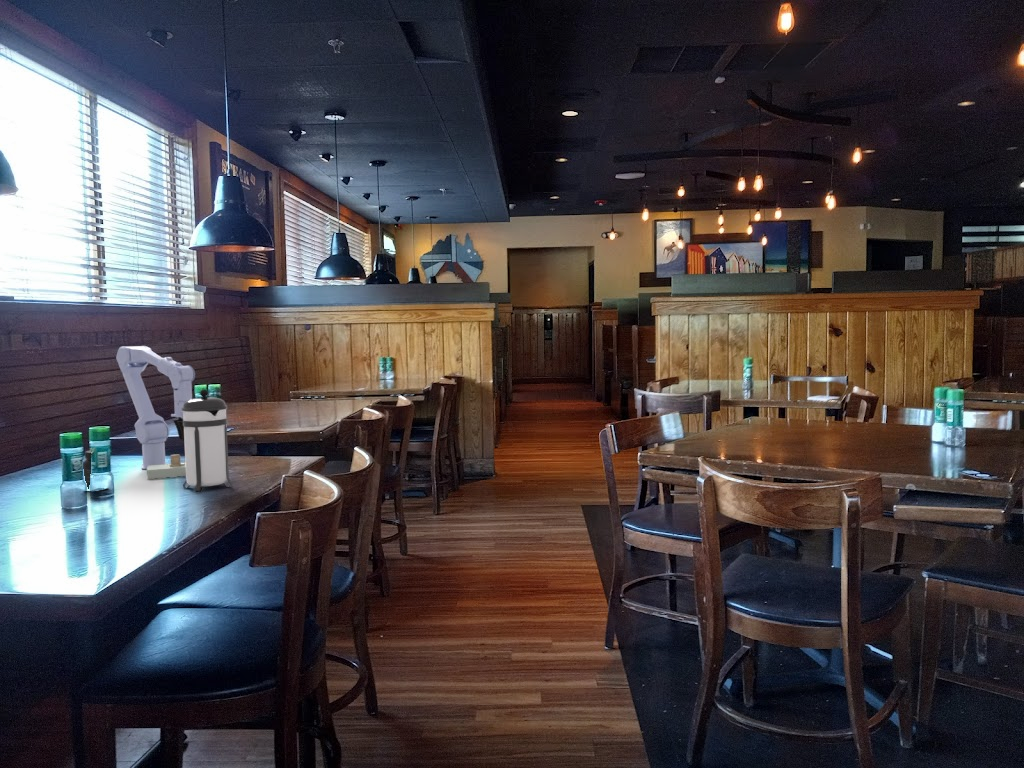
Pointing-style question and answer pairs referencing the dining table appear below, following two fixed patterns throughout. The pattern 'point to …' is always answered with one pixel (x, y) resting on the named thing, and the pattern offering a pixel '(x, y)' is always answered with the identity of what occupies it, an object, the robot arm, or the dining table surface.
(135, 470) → the dining table surface
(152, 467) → the bore block
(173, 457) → the peg
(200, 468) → the coffee press
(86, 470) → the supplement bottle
